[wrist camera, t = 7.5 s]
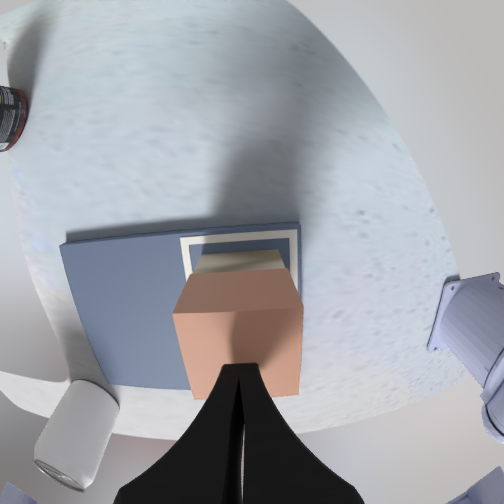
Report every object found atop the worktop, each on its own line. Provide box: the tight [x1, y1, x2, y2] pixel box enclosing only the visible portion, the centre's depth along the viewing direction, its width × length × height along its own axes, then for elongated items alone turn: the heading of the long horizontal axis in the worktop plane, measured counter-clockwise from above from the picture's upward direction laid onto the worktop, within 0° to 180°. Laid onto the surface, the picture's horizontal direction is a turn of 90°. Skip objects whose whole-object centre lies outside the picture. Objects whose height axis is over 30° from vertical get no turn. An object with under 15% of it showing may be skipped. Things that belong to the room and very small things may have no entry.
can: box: [33, 380, 119, 493], centre depth 18 cm, size 6×6×12 cm
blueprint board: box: [59, 222, 301, 390], centre depth 20 cm, size 18×14×1 cm
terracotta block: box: [172, 268, 304, 400], centre depth 13 cm, size 5×5×4 cm
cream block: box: [193, 249, 285, 274], centre depth 17 cm, size 5×5×4 cm
